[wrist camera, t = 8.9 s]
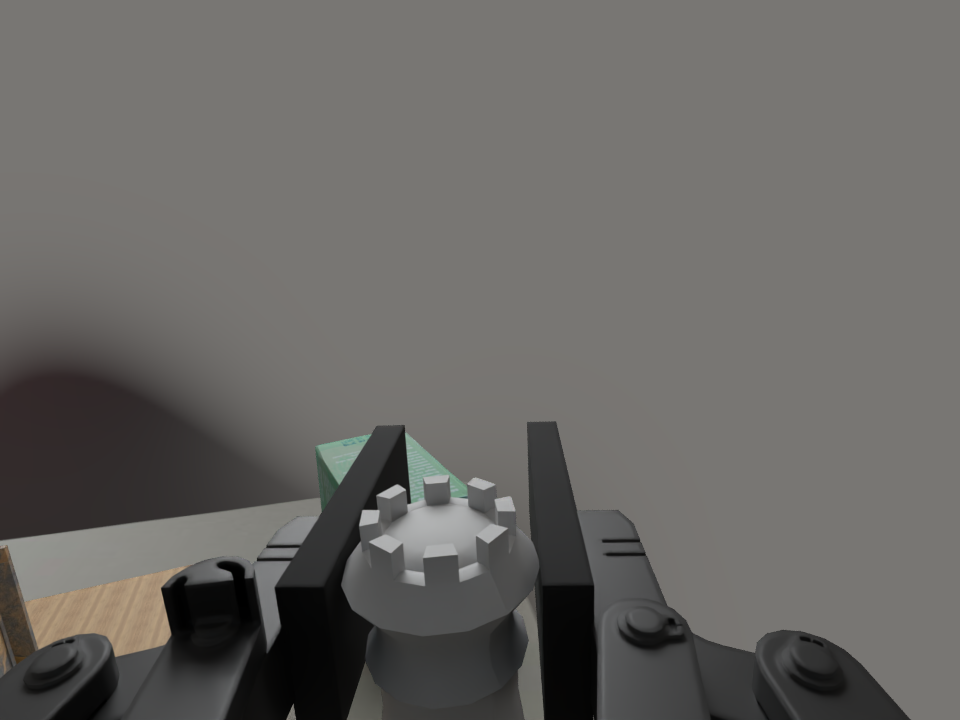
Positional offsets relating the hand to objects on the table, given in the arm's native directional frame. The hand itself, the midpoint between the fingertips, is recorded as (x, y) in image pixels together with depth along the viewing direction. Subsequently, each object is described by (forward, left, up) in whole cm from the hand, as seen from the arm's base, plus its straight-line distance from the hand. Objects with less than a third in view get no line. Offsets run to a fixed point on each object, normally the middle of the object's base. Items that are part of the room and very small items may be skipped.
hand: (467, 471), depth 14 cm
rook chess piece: (-5, +1, -6) cm, 8 cm away
